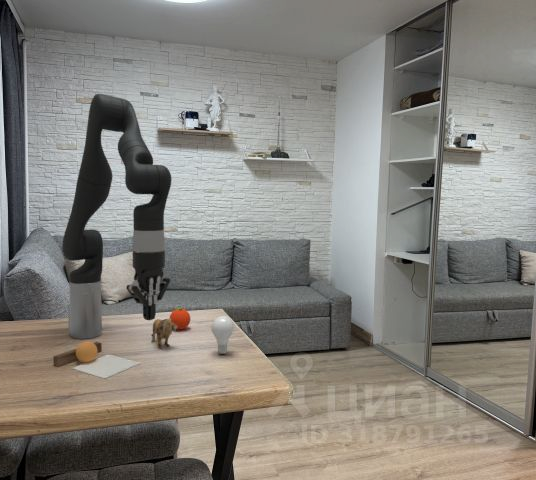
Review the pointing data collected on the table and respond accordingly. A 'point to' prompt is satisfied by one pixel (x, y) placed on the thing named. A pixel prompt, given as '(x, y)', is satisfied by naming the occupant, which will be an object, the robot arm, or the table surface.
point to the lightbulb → (222, 332)
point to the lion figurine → (163, 330)
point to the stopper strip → (70, 356)
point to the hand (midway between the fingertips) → (149, 319)
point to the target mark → (106, 366)
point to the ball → (86, 351)
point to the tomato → (180, 318)
